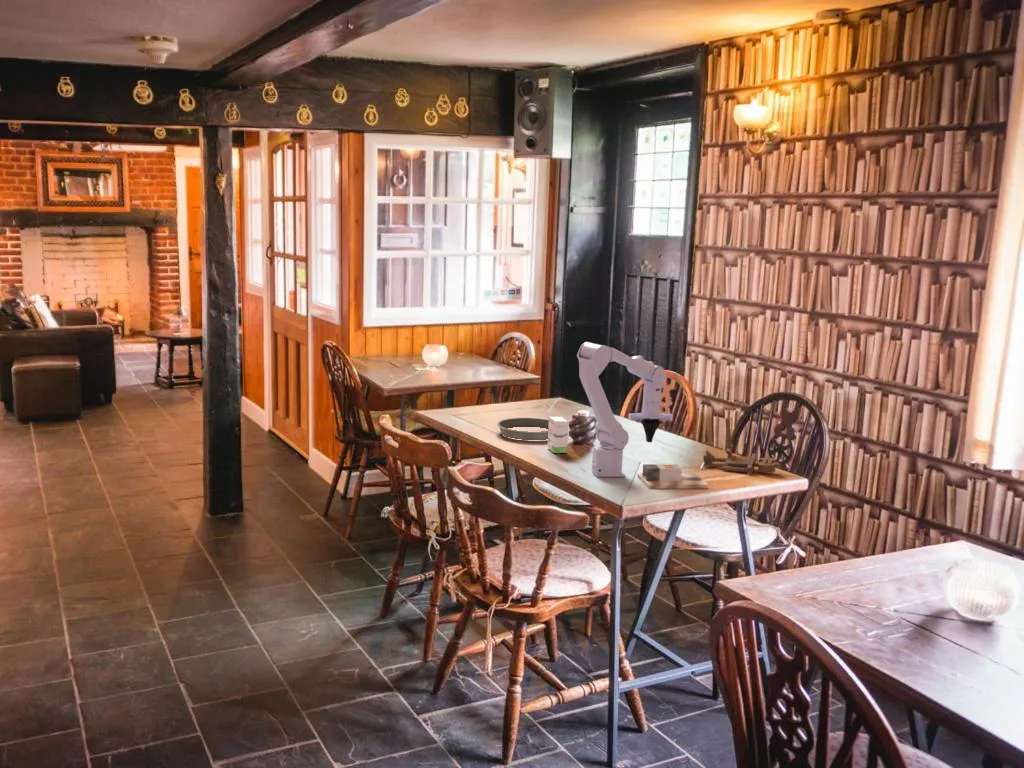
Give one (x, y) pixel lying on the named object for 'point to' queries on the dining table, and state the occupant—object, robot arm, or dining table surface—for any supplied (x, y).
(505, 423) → the cake pan
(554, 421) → the ink box
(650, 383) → the robot arm
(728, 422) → the wooden figure
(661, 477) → the block
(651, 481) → the rail board
